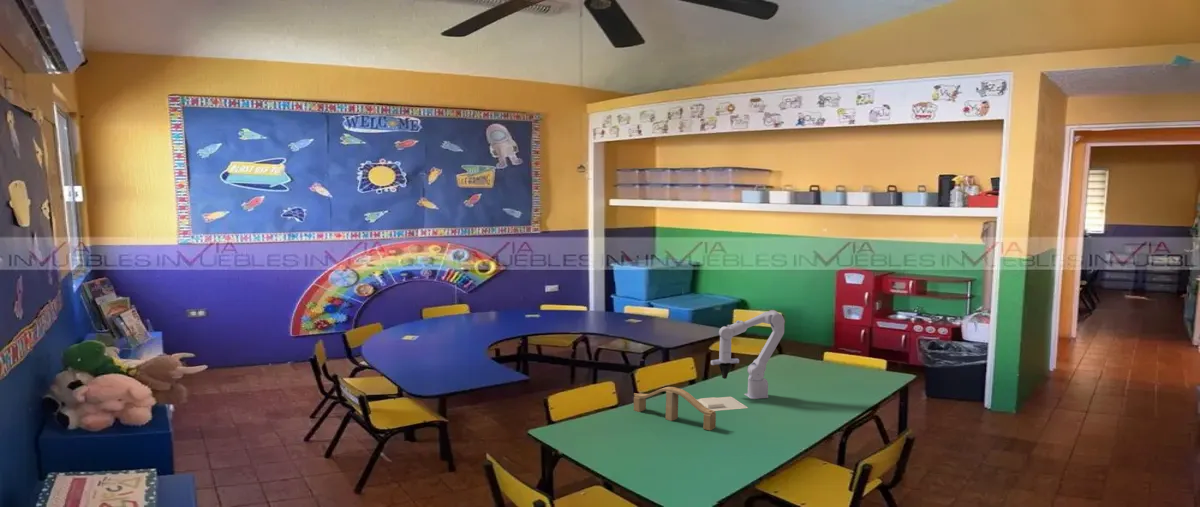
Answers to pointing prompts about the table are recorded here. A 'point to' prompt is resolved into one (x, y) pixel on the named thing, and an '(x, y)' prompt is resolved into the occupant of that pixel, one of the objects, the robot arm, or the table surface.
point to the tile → (711, 402)
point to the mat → (727, 404)
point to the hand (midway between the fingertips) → (724, 378)
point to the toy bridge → (673, 405)
